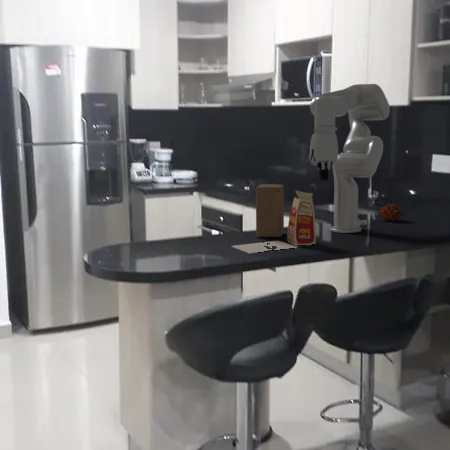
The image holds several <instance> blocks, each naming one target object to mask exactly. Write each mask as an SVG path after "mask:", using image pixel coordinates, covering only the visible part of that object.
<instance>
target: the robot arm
mask: <svg viewBox="0 0 450 450" xmlns="http://www.w3.org/2000/svg"><path fill="white" fill-rule="evenodd" d="M309 107H310V112H311V114H312V116H314V127H313V128H314V131H313V132H314V133H313V134H312V135H311V138H310V145H309V160H310V161H311V162H310V165H313V166H316V167H317V170H319V172H318V173H319V174H318V177H319V181H324V182H325V181H329V170H330V169H331V167H332V173H333V184H334V186H333V187H334V191H333V193H334V194H333V195H334V196H333V225H332V226H330V227H329V230H330V231H331V232H334V233H340V234H341V233H343V234H353V233H359V232H361V231H362V228H361V226H362V225H364V226H365V225H367V224H368V221H367V219H362V220H360V218H358V217H359V216H358V215H359V214H358V213H359V211H358V210H359V186H358V184H357V182H356V181H355V179H354V178H372V177H373V176H375V173H376V171H377V170H378V167H379V164H380V161H381V159H382V155H383V154H384V153H383V152H384V142H383V139H382V138H381V137H379V136H378V135H371V133H372V132H371V130H370V128H369V126H368V125H367V124H366V123H365V122H364V121H384V120H386V119H387V118H388V117H389V115H390V110H391V109H390V103H389V101H388V99H387V96H386V95H385V92H384V91H383V89H382V88H381V86H380V85H379V84H377V83H359V84H353V85H349V86H348V87H346V88H343V89H340V90H335V91H330V92H326V93H322V94H319V95H316V96H314V98H313V99H312V100H311V102H310V105H309ZM347 113H348V114H347ZM345 115H348V122H349V127H350V130H349V133H348V135H347V138H346V140H345V142H344V145H343V149H342V150H343V153H341V152H340V153H339V146H338V139H337V138H338V136H337V134H336V132H337V131H338V127H337V126H336V117H338V118H339V117H343V116H345Z"/></svg>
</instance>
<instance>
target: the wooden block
mask: <svg viewBox="0 0 450 450" xmlns="http://www.w3.org/2000/svg"><path fill="white" fill-rule="evenodd" d="M284 232H285V186H284V185H283V184H276V183H275V184H270V183H269V184H268V183H267V184H262V183H261V184H259V185H258V186H256V188H255V235H256V237H257V238H269V237H280V238H281V237H282V236H283V235H284Z"/></svg>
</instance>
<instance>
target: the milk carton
mask: <svg viewBox="0 0 450 450" xmlns="http://www.w3.org/2000/svg"><path fill="white" fill-rule="evenodd" d="M313 195H314V192H313V193H312V192H304V191H300V190H297V189H296V190H295V195H294V196H293V197H294V198H293V200H292V201H293V202H292V205H291V208H290V211H289V218H288V223H287V224H288V225H287V237H286V240H287V241H288V242H287V243H289V242H290V243H291V244H290V243H289V244H290V245H292V244H293V246H294V245H295V246H296V247H298V246H297V245H307V246H313V245H312V244H315V245H317V244H316V242H317V240H316V239H317V238H316V237H317V235H316V234H317V232H316V216H315V209H314V200H313Z"/></svg>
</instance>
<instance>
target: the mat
mask: <svg viewBox="0 0 450 450" xmlns="http://www.w3.org/2000/svg"><path fill="white" fill-rule="evenodd" d="M267 243H270V244H268V245H267ZM264 246H268V247H270V248H272V246H276V247H277V248H276V249H274V250H278V251H281V250H280V249H287V250H290V249H289V248H295V249H298V248H297V247H298V246H294V245H292V244H290V243H288V242H284V241H281V240H272V241H264V243H263V242H256V243H255V242H253V243H244V244H235V245H231V248H233V249H236V250H238V251H241V252H244V253H245V252H246V253H245V254H249V255H252V254H259V253H258V252H261V253H265V252H264V251H268V250H272V249H267V248H266V247H264Z"/></svg>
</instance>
